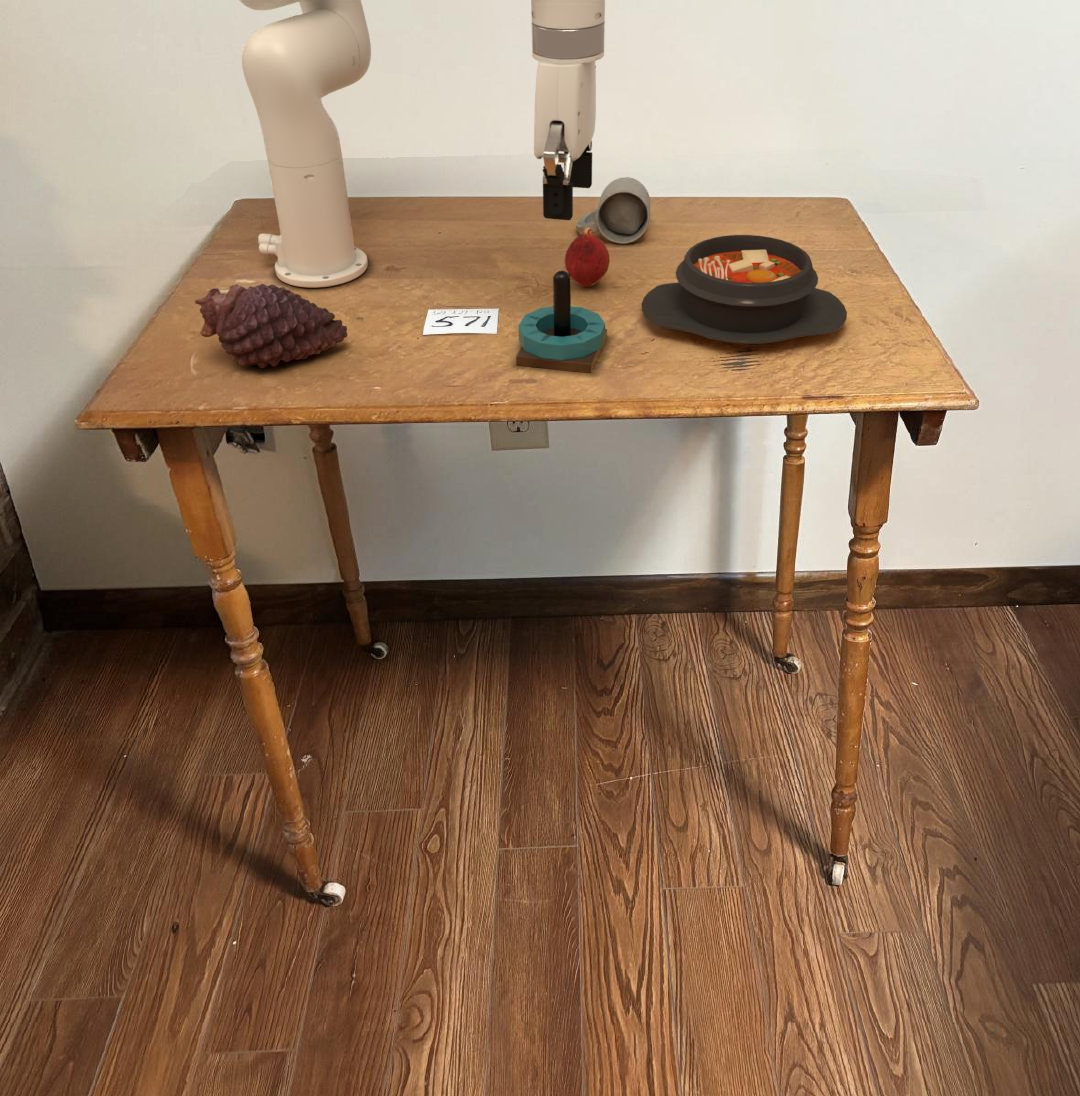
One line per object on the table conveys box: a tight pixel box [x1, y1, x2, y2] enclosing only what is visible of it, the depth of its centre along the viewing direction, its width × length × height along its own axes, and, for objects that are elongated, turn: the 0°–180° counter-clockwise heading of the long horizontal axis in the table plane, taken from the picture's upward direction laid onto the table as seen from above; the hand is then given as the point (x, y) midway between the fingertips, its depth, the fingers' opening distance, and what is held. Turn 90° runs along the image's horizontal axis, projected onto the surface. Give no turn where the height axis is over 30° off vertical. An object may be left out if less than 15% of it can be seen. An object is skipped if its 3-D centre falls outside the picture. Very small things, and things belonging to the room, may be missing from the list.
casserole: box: [641, 234, 848, 345], centre depth 134 cm, size 25×19×8 cm
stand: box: [515, 270, 608, 374], centre depth 128 cm, size 9×9×10 cm
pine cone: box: [194, 283, 348, 369], centre depth 129 cm, size 18×10×10 cm
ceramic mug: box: [575, 176, 651, 245], centre depth 157 cm, size 11×8×8 cm
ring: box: [517, 305, 606, 360], centre depth 131 cm, size 10×10×2 cm
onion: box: [564, 227, 611, 288], centre depth 143 cm, size 6×6×8 cm
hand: (568, 202), depth 124 cm, fingers open, 9 cm apart
